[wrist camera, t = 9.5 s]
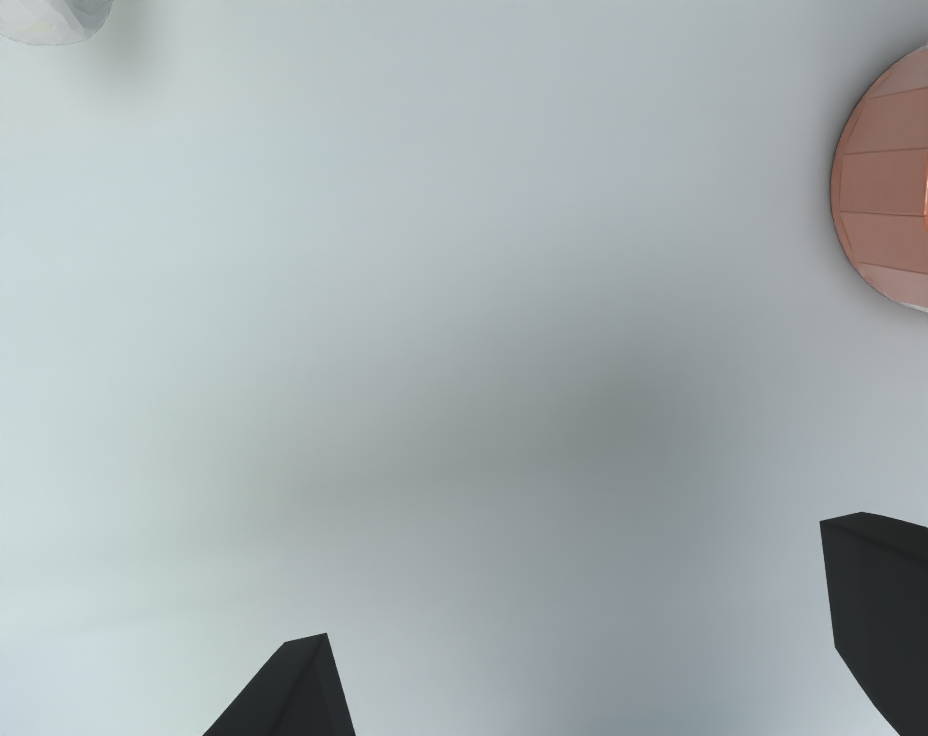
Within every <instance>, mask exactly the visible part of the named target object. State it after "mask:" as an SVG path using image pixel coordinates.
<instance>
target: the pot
mask: <svg viewBox="0 0 928 736" xmlns="http://www.w3.org/2000/svg"><path fill="white" fill-rule="evenodd" d="M831 206H832V214H833V220H834V224H835V227H836V231H837V235H838V237H839V240H840V242H841V245H842V247H843V249H844V252H845V253H846V255H847V257H848V258H849V260H850V262H851V263H852V265H853V266H854V268H855V269H856V270H857V271H858V272H859V274H860V275H861V276H862V277H863V279H864V280H866V281H867V282H868V283H869V284H870V285H871V286H872V287H873V288H874V289H875V290H877V291H878V292H880V293H881V294H883V295H884V296H886V297H887V298H889V299H891V300H893V301H895V302H897V303H899V304H901V305H904V306H907V307H910V308H913V309H917V310H920V311H923V312H926V313H928V44H926V45H924V46H922V47H920V48H918V49H916V50H914V51H913V52H911V53H909V54H907V55H906V56H904V57H903V58H902V59H900V60H899V61H898V62H896V63H895V64H893V65H892V66H891V67H890V68H889V69H888V70H887V71H885V72H884V73H883V74H882V75H881V76H880V77H879V78H878V79H877V80H876V81H875V82H874V83H873V85H872V86H871V87H870V88H869V89H868V90H867V92H866V93H865V94H864V95H863V97H862V98H861V100H860V101H859V103H858V104H857V106H856V107H855V109H854V110H853V112H852V114H851V116H850V118H849V120H848V122H847V124H846V126H845V128H844V130H843V133H842V136H841V138H840V141H839V144H838V146H837V150H836V154H835V158H834V163H833V169H832V177H831Z"/></svg>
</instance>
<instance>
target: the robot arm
mask: <svg viewBox="0 0 928 736" xmlns="http://www.w3.org/2000/svg"><path fill="white" fill-rule="evenodd" d="M820 529H821V537H822V545H823V554H824V562H825V570H826V578H827V586H828V595H829V603H830V611H831V619H832V627H833V636H834V644H835V648H836V650H837V651H838V653H839V654H840V656H841V657H842V659H843V660H844V662H845V663H846V665H847V666H848V668H849V669H850V671H851V673H852V674H853V676H854V677H855V679H856V680H857V682H858V683H859V684H860V686H861V687H862V689H863V690H864V692H865V693H866V694H867V696H868V697H869V699H870V700H871V702H872V703H873V704H874V706H875V707H876V708H877V709H878V711H879V712H880V713H881V714H882V715H883V717H884V718H885V719H886V720H887V721H888V722H889V723H890V725H891V726H892V727H893V728H894V729H895V730H896V731H897V733H898V734H899V735H900V736H928V528H927V527H924V526H920V525H916V524H913V523H909V522H905V521H902V520H898V519H894V518H890V517H886V516H881V515H877V514H871V513H865V512H858V513H854V514H849V515H845V516H841V517H836V518H832V519H827V520H823V521H820ZM203 736H356V735H355V731H354V728H353V724H352V721H351V717H350V713H349V710H348V706H347V703H346V699H345V696H344V692H343V689H342V685H341V681H340V678H339V674H338V671H337V667H336V664H335V660H334V657H333V653H332V650H331V646H330V642H329V639H328V635H327V633H323V634H319V635H314V636H310V637H305V638H301V639H297V640H292V641H288V642H285V643H284V644H283V645H282V646H281V647H280V648H279V649H278V650H277V651H276V652H275V653H274V654H273V655H272V656H271V657H270V659H269V660H268V661H267V662H266V663H265V664H264V665H263V667H262V668H261V669H260V670H259V671H258V673H257V674H256V675H255V676H254V677H253V678H252V680H251V681H250V682H249V683H248V684H247V686H246V687H245V688H244V689H243V690H242V691H241V693H240V694H239V695H238V696H237V697H236V698H235V699H234V701H233V702H232V703H231V704H230V705H229V706H228V708H227V709H226V710H225V711H224V712H223V713H222V714H221V716H220V717H219V718H218V719H217V720H216V721H215V722H214V724H213V725H212V726H211V727H210V728H209V729H208V730H207V731H206V732H205V733H204V735H203Z"/></svg>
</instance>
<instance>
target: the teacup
mask: <svg viewBox="0 0 928 736" xmlns="http://www.w3.org/2000/svg"><path fill="white" fill-rule="evenodd" d="M112 1H113V0H0V35H1V36H3V37H6V38H8V39H11V40H13V41H16V42H20V43H25V44H29V45H37V46H45V45H67V44H73V43H77V42H80V41H84V40H86V39H88V38H89V37H91V36H92V35H93V34H94V33H95V32H96V31H98V30H99V29H100V28H101V27H102V25H103V23H104V21H105V19H106V17H107V15H108V13H109V11H110V8H111V4H112Z"/></svg>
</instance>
